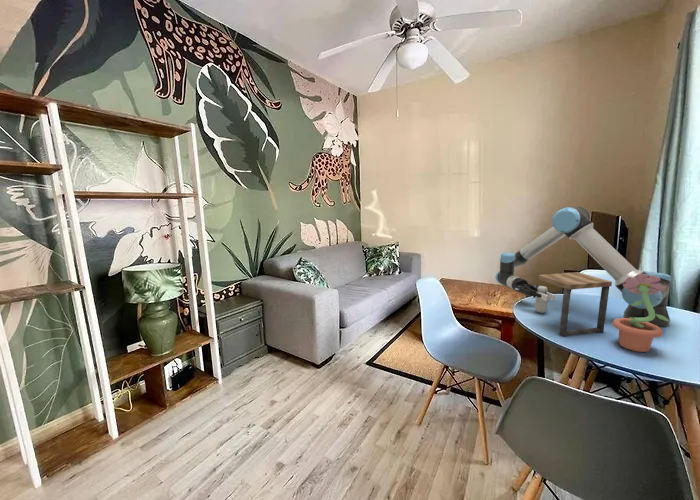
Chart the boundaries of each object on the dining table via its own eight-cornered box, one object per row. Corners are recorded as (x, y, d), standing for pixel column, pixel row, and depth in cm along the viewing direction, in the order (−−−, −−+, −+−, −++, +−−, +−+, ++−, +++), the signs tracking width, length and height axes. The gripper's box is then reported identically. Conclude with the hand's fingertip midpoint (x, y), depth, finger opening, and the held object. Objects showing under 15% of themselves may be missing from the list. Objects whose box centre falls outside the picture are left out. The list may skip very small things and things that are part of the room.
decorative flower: (661, 346, 114) (674, 272, 108) (665, 362, 104) (680, 280, 98) (610, 335, 124) (619, 266, 118) (609, 348, 114) (620, 274, 108)
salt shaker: (535, 312, 147) (537, 288, 145) (532, 308, 152) (534, 284, 150) (548, 313, 145) (551, 288, 143) (545, 309, 150) (547, 285, 148)
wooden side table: (573, 318, 142) (578, 272, 138) (605, 332, 126) (612, 281, 122) (534, 321, 139) (538, 274, 135) (562, 337, 124) (568, 285, 119)
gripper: (529, 289, 166) (564, 304, 143) (503, 291, 164) (535, 306, 141) (530, 276, 165) (566, 289, 142) (504, 278, 163) (536, 291, 140)
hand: (550, 298), depth 142 cm, fingers closed on salt shaker, 3 cm apart
